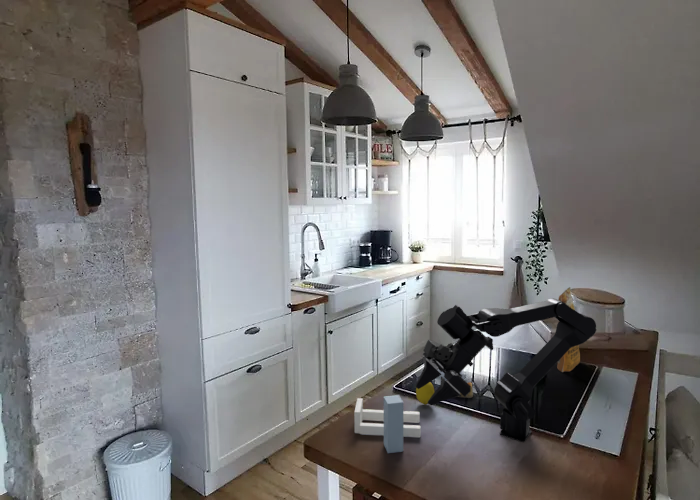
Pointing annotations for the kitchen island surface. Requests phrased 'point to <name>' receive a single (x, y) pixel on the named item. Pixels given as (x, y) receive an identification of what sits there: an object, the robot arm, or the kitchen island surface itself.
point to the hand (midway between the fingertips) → (422, 395)
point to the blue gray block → (393, 424)
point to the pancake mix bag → (572, 354)
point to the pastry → (469, 393)
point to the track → (378, 415)
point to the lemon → (425, 393)
